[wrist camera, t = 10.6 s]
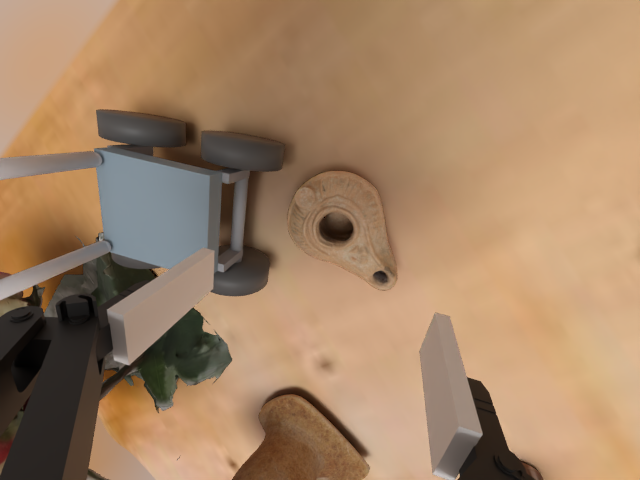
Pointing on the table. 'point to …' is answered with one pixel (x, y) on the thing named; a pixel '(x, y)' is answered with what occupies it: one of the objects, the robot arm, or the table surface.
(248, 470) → the stone cup
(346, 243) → the pottery oil lamp
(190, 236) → the dolly
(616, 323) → the table surface
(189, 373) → the rose bouquet
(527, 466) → the sauce bottle
